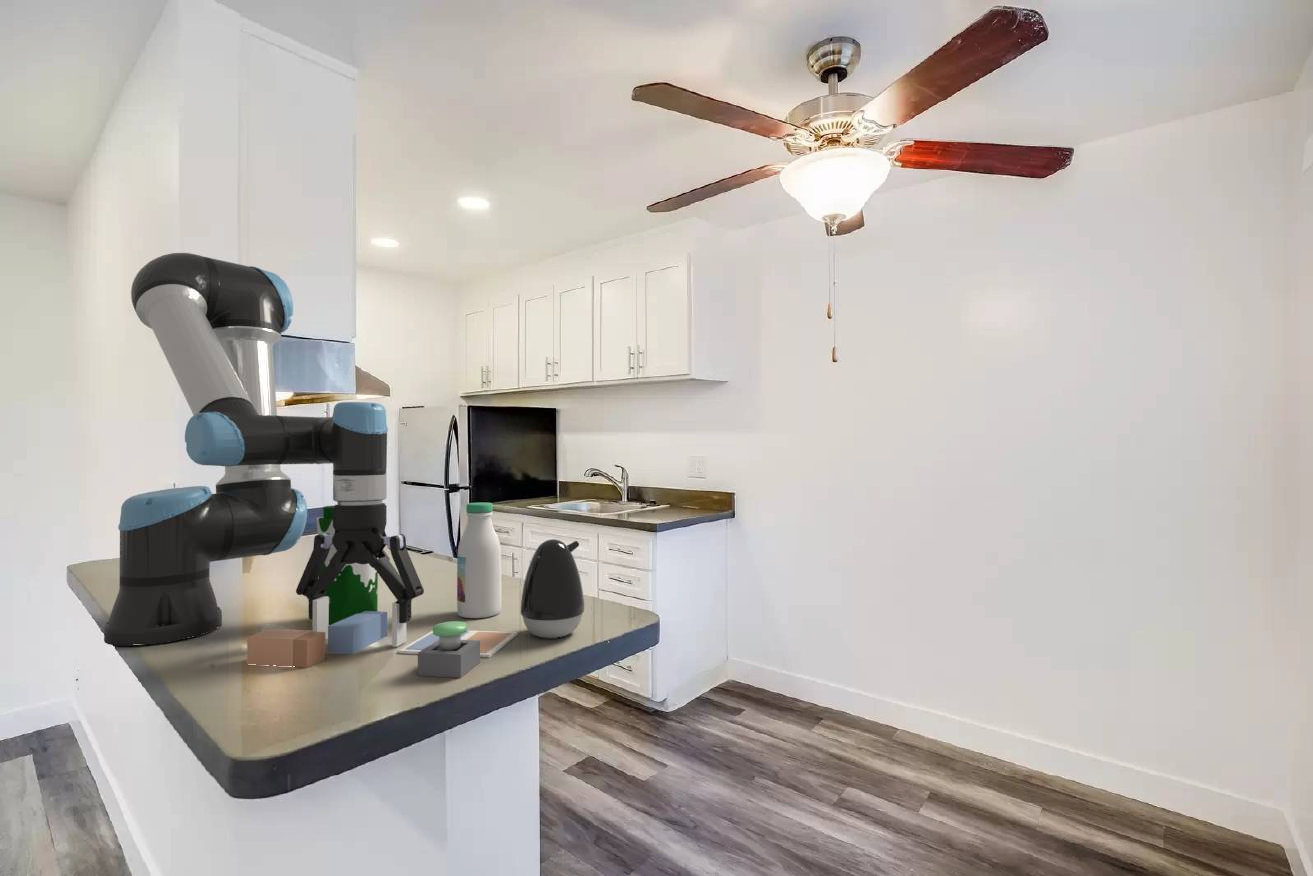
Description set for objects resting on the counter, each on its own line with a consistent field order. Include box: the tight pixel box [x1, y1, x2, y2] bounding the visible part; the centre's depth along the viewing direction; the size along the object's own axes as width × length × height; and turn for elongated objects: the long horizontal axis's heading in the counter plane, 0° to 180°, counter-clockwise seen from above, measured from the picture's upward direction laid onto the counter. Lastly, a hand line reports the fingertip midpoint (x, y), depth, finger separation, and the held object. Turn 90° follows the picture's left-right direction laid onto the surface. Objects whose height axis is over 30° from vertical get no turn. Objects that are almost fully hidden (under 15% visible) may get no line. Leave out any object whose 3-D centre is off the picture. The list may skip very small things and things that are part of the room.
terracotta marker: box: [246, 628, 326, 669], centre depth 89 cm, size 9×4×4 cm, turn 82°
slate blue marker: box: [327, 610, 388, 655], centre depth 97 cm, size 9×4×4 cm, turn 172°
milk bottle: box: [456, 502, 502, 619], centre depth 114 cm, size 8×8×20 cm
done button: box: [432, 620, 468, 650], centre depth 86 cm, size 4×4×3 cm
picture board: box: [397, 629, 518, 659], centre depth 96 cm, size 14×11×1 cm
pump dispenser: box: [519, 539, 585, 639], centre depth 102 cm, size 10×10×15 cm
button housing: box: [417, 640, 481, 679], centre depth 86 cm, size 6×6×3 cm
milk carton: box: [315, 505, 379, 625], centre depth 110 cm, size 9×9×20 cm
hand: (359, 642), depth 97 cm, fingers open, 12 cm apart
